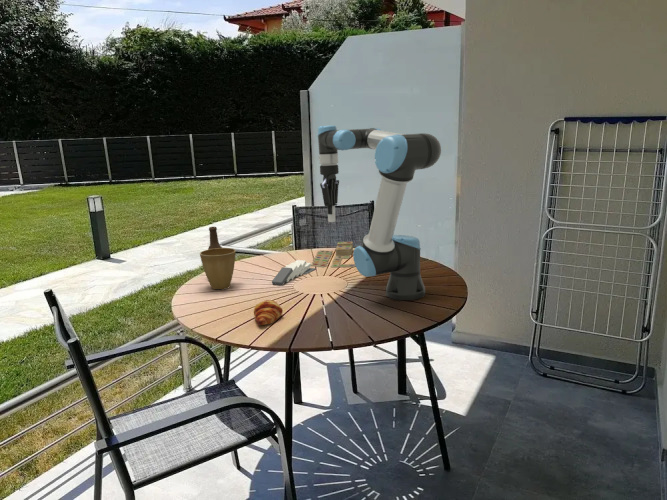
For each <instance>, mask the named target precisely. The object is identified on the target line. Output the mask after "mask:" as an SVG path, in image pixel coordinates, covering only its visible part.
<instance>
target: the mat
mask: <svg viewBox="0 0 667 500" xmlns="http://www.w3.org/2000/svg"><path fill="white" fill-rule="evenodd" d="M315 270H317V267H316V268H314V267H310V268H309V269H308V270H306V271H305V272H304V273H303V274H302V275H308V274H310V273H312V272H314V271H315Z"/></svg>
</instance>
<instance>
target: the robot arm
mask: <svg viewBox="0 0 667 500" xmlns="http://www.w3.org/2000/svg"><path fill="white" fill-rule="evenodd" d="M317 142H318V154H319V156H318V158H319V164H320V166H319V175H321V176H322V175H323V178H322V181H323V182H320V183H319V186H320V188H321V193H322V194H321V195H322V200H323V203H324V207H327V219H328V220H327V221H328V223H336V206H338V203H339V202H338V200H339V199H338V198H339V186H340V185H339V184H340V180H339V179H337V175H338V174H339V155H338V151H348V150H356V149H370V150H375V153H374V159H375V162H374V163H375V166H376V168H377V169H378V174H379V175H380V176H381V179H380V184H379V188H378V193H377V197H376V202H375V205H374V206H375V207H374V209H373V214H372V218H371V223H370V227H369V231H368V234H366V235H364V237H363V239H362V244H361V245H358V246H356V247H355V248H353V252H352V254H353V255H352V256H353V258H352V259H353V261H354V263H353V264H355V266H356V267H355V268H356V269H357V271H358V272H359V274H360V276H363V277H366V278H367V277H376V276H379V275H383V274H389V276H388V277H389V278H388V280H387V284H386V288H385V296H387V298H389V299H392V300H397V301H414V300H415V301H416V300H419V299H421V298H423V297H425V296H426V286H425V285H424V281H423V279H422V276H421V244H420V243H421V242H420V241H421V240H420V239H419V238H418V237H416V236H412V235H411V236H410V235H404V234H403V235H402V234H394V233H395V229H396V226H397V222H398V218H399V215H400V211H401V206H402V203H403V199H404V196H405V191H406V188H407V184H408V183H409V182H410V183H411V181H412V180H413V179H414V175H415V172H416V170H425V169H428V168H430V167H433V166H434V165H435V164H436V163H437V162H438V161H439V159H440V157H441V154H442V146H441V142H440V141H439V139H438V138H437V137H435V136H434V135H432V134H431V133H425V132H424V133H423V132H422V133H410V134H409V133H406V134H405V133H398V132H393V131H392V132H391V131H387V130H382V129H380V128H377V127H376V128H375V127H371V128H357V129H337V126H336V125H320V126H318V128H317Z"/></svg>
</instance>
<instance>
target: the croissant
mask: <svg viewBox="0 0 667 500" xmlns="http://www.w3.org/2000/svg"><path fill="white" fill-rule="evenodd" d="M282 314H283V308H282V307H281V305H280V304H279V303H278V302H277V301H275V300H269V299H266V300H263V301H260V302H259V303H257V304H255V306H254V309H253V315H254V320H255V321H256V322H255V323H257V325H259V326H265V325H270V324H273V323H274V322H276V321H277V320H278V319H279V318H280V316H282Z"/></svg>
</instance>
